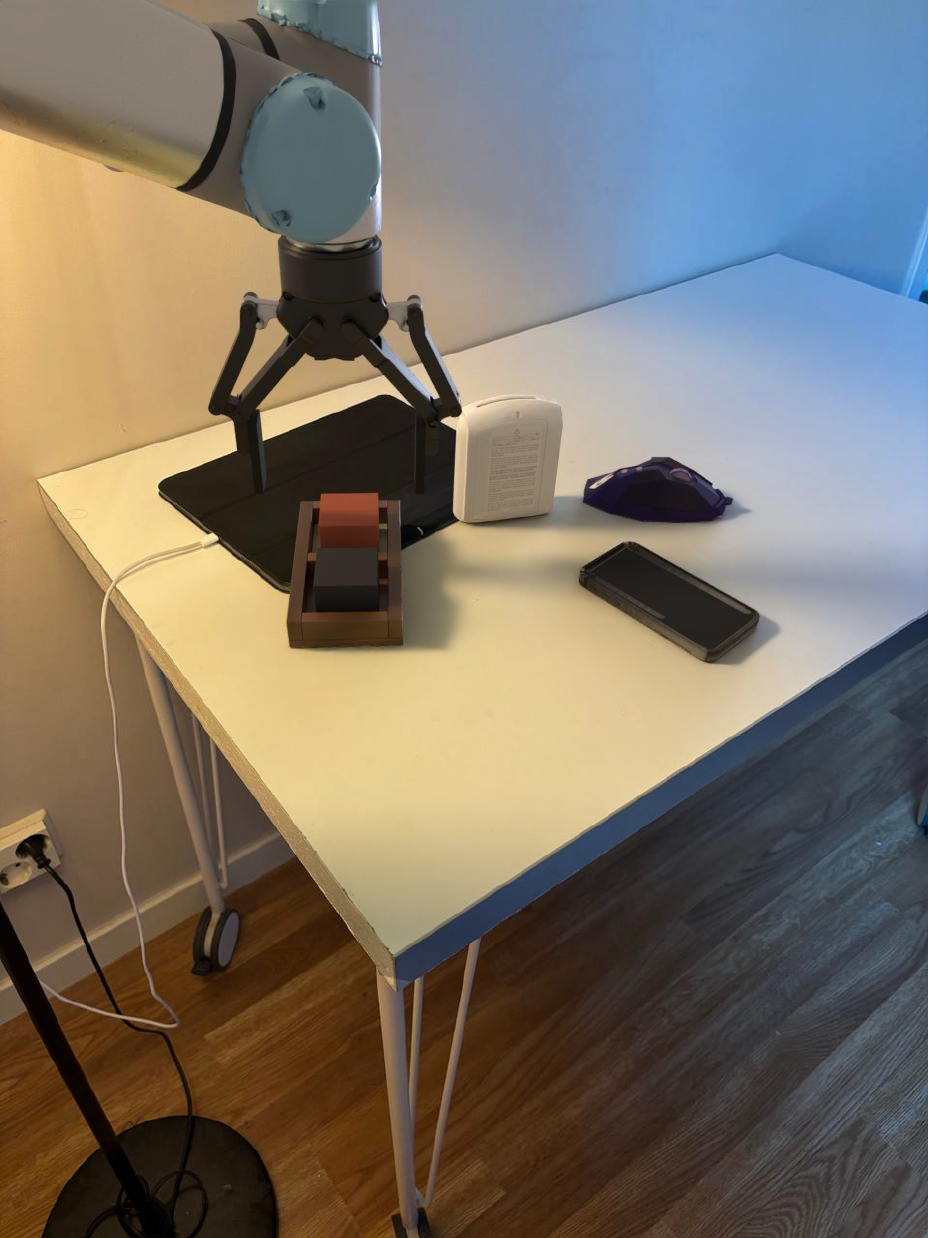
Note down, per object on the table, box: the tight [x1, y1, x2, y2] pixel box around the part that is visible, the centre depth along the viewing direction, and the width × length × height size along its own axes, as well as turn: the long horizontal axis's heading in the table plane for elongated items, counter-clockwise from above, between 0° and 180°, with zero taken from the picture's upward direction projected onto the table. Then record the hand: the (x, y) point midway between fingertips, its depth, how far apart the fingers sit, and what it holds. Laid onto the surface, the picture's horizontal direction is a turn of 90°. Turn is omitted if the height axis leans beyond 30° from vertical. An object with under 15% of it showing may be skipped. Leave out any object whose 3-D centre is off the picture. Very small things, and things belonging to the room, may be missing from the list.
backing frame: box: [285, 499, 404, 648], centre depth 85 cm, size 9×18×3 cm, turn 4°
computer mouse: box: [582, 456, 734, 524], centre depth 96 cm, size 9×15×4 cm, turn 79°
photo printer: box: [452, 393, 564, 523], centre depth 91 cm, size 10×4×12 cm, turn 105°
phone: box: [578, 540, 761, 663], centre depth 84 cm, size 8×1×15 cm
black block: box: [313, 548, 379, 613], centre depth 81 cm, size 5×5×4 cm
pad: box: [318, 492, 379, 552], centre depth 87 cm, size 5×5×4 cm
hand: (340, 485), depth 82 cm, fingers open, 13 cm apart
